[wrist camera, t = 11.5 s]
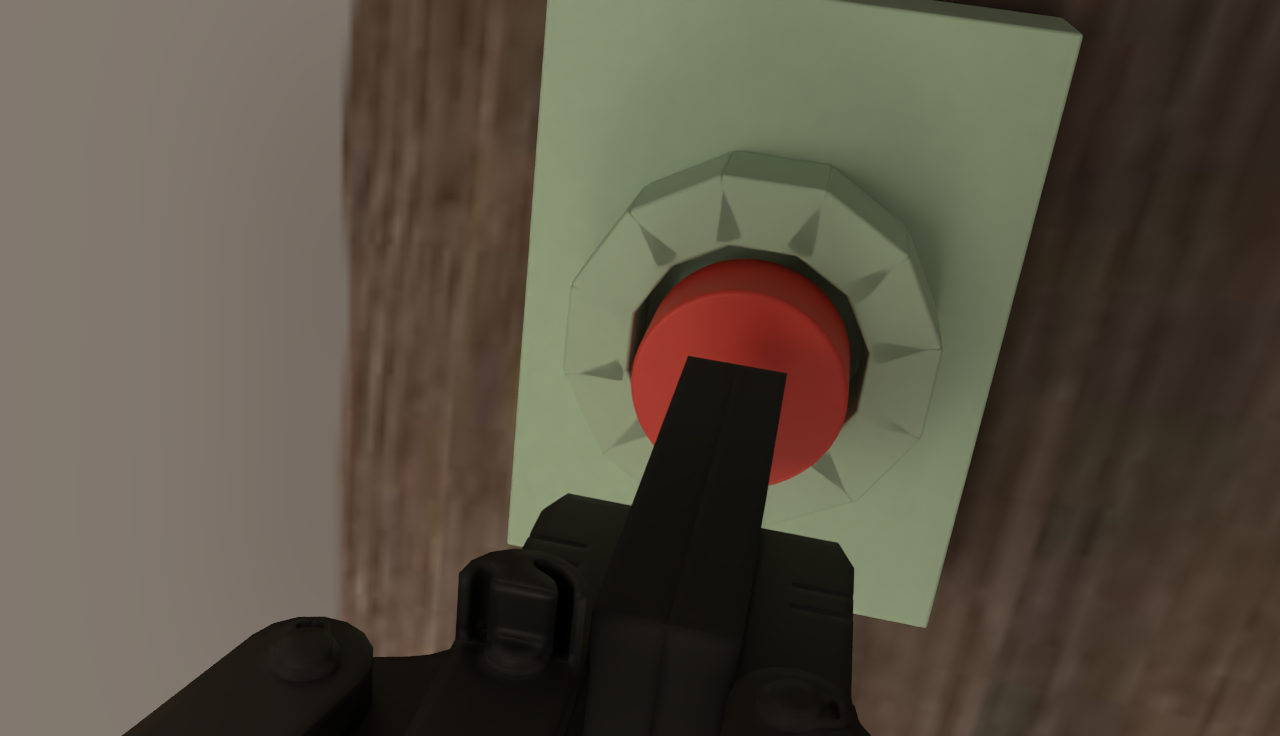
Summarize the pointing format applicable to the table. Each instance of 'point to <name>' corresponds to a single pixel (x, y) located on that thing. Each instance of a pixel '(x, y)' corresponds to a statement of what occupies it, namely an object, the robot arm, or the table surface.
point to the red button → (752, 351)
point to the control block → (789, 238)
